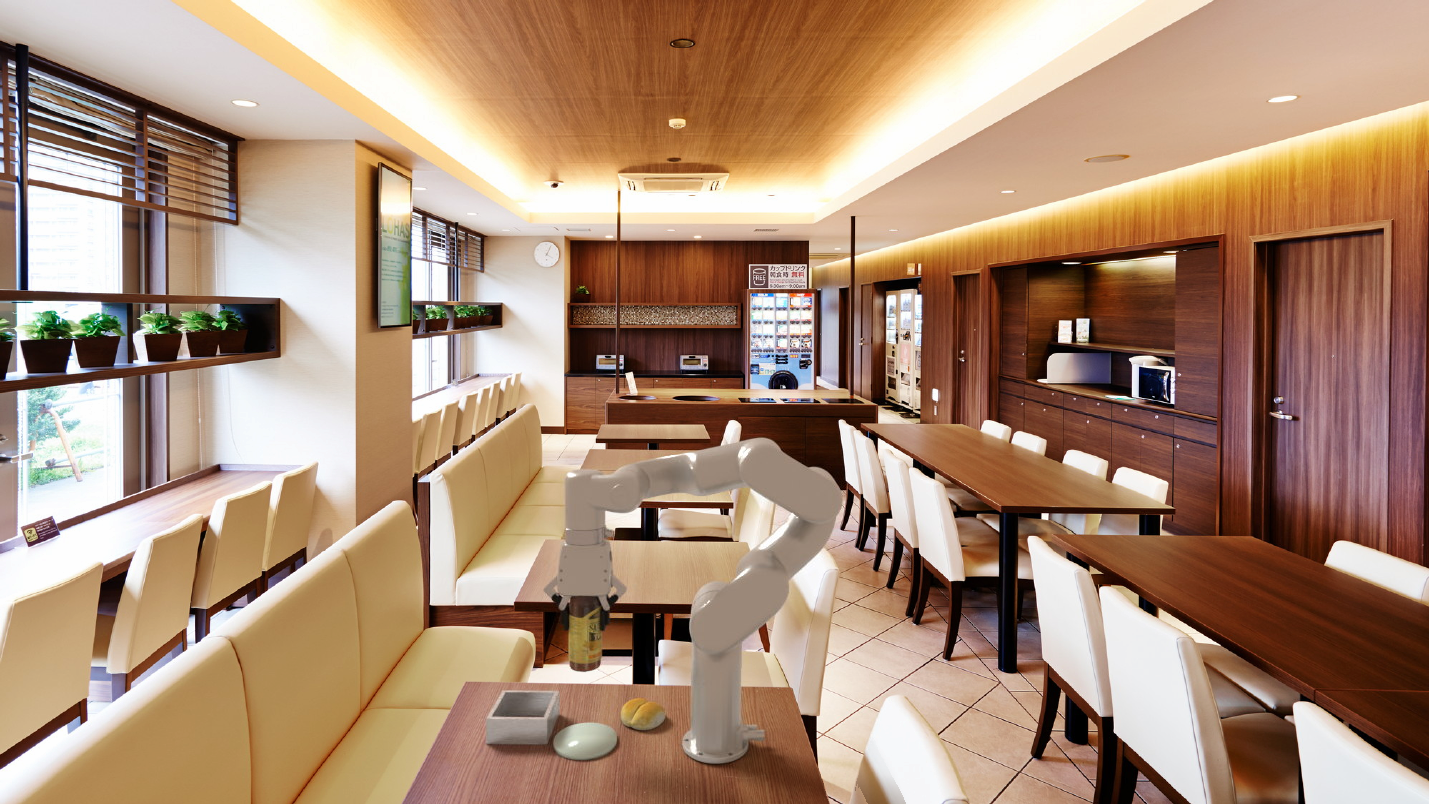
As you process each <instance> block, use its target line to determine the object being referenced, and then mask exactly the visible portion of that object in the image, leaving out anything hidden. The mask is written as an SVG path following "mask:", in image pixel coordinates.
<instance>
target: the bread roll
mask: <svg viewBox="0 0 1429 804" xmlns="http://www.w3.org/2000/svg"><path fill="white" fill-rule="evenodd" d="M665 719H666V711H665V709H664V707H663V706H662V705H661V704H659V703H657V702H656V701H649V700H647V699H646V698H643V697H637V698H636V697H635V698H633V699H630V700H629V701H627V702H626V703H624V705H623V706H622V708H621V711H620V720H621V723H622V724H623V725H624V726H626V727H629V728H633V729H634V730H637V731H649V730H653V729H655V728H657V727H659V726H661V724H663V723H664V721H665Z"/></svg>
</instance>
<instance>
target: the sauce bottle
mask: <svg viewBox="0 0 1429 804" xmlns="http://www.w3.org/2000/svg"><path fill="white" fill-rule="evenodd" d="M569 605H570V612H569V629H568V660H569V667H570V669H571V670H572V671H575V672H581V673H586V672H590V671H591V672H593V671H594V670H597V669H599V668H600V666H601V664H602V661H601V660H602V657H603V649H602V648H603V631H602V630H601V609H602V604H601V602H600V599H599V597H598V596H581V595H580V596H571V597H570V599H569Z"/></svg>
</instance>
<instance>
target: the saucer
mask: <svg viewBox="0 0 1429 804" xmlns="http://www.w3.org/2000/svg"><path fill="white" fill-rule="evenodd" d="M617 736H618V735H617V732H616V731H615V729H614V728H612V727H611V726H609V725H607V724H603V723H599V722H581V723H575V724H571V725H569V726H566V727H564V728H563V729H561V730H560V731H558V732H557V733H556V734H555V736H554V738H553V749H554V751H555V752H556V753H557V755H559V756H560V757H563V758H565V759H568V760H572V761H574V760H575V761H587V760H588V761H589V760H593V759H597V758H600V757H603V756H605V755H607V754H609V753H610V752H611V751H613V749H615V747H616V745H617V743H618V737H617Z"/></svg>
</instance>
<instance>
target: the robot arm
mask: <svg viewBox="0 0 1429 804" xmlns="http://www.w3.org/2000/svg"><path fill="white" fill-rule="evenodd" d="M743 488H744V489H745V488H750V490H752V491H754V492H755V493H757V494H759V495H760V496H762V497H763V498H765V499H767V500H768V501H770V502H771V503H773V504H775V505H777V506H779V507H781V508H782V509H783V510H786V511H788V512H789V515H788V517H787V518H786V520H785V521H784V522H782V524H780V525H779V526H778V527H777V528H776V529H775V530H774V531H773V532H772V533H770V535H769V536H767V537H766V538H764V539H763V540H762V541H761V542H760V543H759V544H757V545H756V546H755V547H754V548H752V549H751V550H750V551H748V552H746V554H745V555H743V557H741V558H740V560H739V561H738V563H737V566H736V568H735V569H736V570H735V577H733V579H731V581H729V583H727V582H726V581H720V580H719V581H718V580H713V581H710V582H708V583H705V584H704V585H703V586H701V587H700V588H699V589H698V590H697V592H696V594H695V596H694V598H693V601H692V604H691V608H690V609H691V610H690V619H689V624H688V625H689V628H688V629H689V634H690V638H691V670H690V672H691V675H690V676H691V677H690V678H691V679H690V680H691V681H690V682H691V683H690V729H689V730H688V731H687V732H685V733H684V735H683V737H682V742H681V743H682V745H681V746H682V750H683V751H684V753H685V754H686V755H688V756H689V757H690V758H692V759H694V760H695V761H698V762H701V763H705V764H706V763H707V764H718V765H719V764H726V763H727V764H728V763H731V762H734V761H736V760H738V759H740V758H741V757H743V756H745V754H746V753H747V751H748V750H749V741H755V742H764V741H765V738H766V735H765V729H758V724H745V723H743V719H742V717H743V716H742V713H741V712H742V711H741V710H742V707H741V705H742V704H741V703H742V664H743V662H742V660H743V658H742V657H743V655H742V654H743V642H745V641H746V640H747V639H748V638H749V637H751V636H752V635H753V634H754V633H756V632H757V631H758V630H760V628H762V627H763V626H764V625H765V624H766V623H767V622H769V621H771V619H772V618H774V616H775V615H777V614H778V612H780V611H781V609H782V608H783V607H784V606H785V603H786V602H787V600H788V597H789V593H790V581H791V579H792V578H794V577H795V575H797V574H798V573H799V572H800V571H801V570H803V568H805V567H806V566H807V565H808V564H809V563H810V562H811V561H812V560H813V559H815V557H816V556H817V555H819V553H820V552H821V551H822V550H823V549H824V547H825V546H826V544H827V543H828V542H829V540H830V538H831V535H832V534H833V531H834V528H835V525H836V520H837V516H838V515H839V514H840V511H841V510H842V507H843V493H842V491H841V489H840V487H839V485H838V484H837V482H836V480H835V479H834V478H833V476H832V475H831V474H830V473H829V472H828V471H827V470H825V469H823V468H821V467H818V466H811V467H808V466H806V465H804V464H802V463H801V462H799V461H797V460H796V459H794V458H792V457H791V456H789V455H788V454H786V453H785V452H783V451H782V450H781V448H780V446H779V445H778V444H777V443H776V442H775V441H774V440H772V439H770V438H766V437H756V438H755V437H754V438H750V439H746V440H741V441H736V442H731V443H728V444H723V445H719V446H718V445H717V446H713V447H708V448H704V449H699V450H696V451H695V450H694V451H688V452H683V453H680V454H674V455H666V456H661V457H660V456H659V457H657V458H656V457H655V458H651V459H646V460H641V461H637V462H633V463H630V464H625V465H623V466H621V467H619V468H618V469H617V470H615V471H614V472H613V473H611V474H604V472H602V470H599V469H594V468H581V469H579V468H578V469H574V470H573V469H572V470H571V471H568V473H566V475H565V477H564V540H562V542H561V545H560V550H559V556H558V567H557V575H555V576H554V577H553V579H552V580H551V581H549V583H547V584H546V585H545V587H544V588H543V593H545V594H546V595H547V596H548V597H549V598H550V599H551V601H552V602H553V603H555V605H556V606H557V607H558V609H559V610H560V625H563V631H565V632H566V631H567V632H568V631H569V612H570V597H571V596H580V595H581V596H598V597H599V599H600V602H601V604H602V609H601V630H602V632H605V631H606V628H607V626H610V620H611V618H610V617H611V616H610V615H611V614H610V613H611V612H610V608H611V607H612V606H613V605H614V604H616V602H618V600H619V599H620V598H622V597H623V595H625V594H626V592H627V590H628V587H627V586H626V585H625V584H624V583H623V582H622V581H621V580H620V579H619V578H618V577H617V576H616V575H614V563H613V552H612V546H611V542H610V541H611V540H609V539H607V538H613V537H614V529H609V528H608V527H607V525H606V512H609V513H616V514H629V513H632V512H634V511H635V510H637V509H638V507H640V505H642V502H643V501H644V500H646V499H651V498H656V497H659V496H665V495H670V494H688V495H692V496H697V497H707V496H712V495H715V494H716V495H717V494H720V493H721V494H722V493H723V492H728V491H733V490H734V491H735V490H737V489H743ZM555 587H557V591H556V590H555ZM613 587H614V588H615V589H616V591H615V592H614V593H613V594H611V595H609V594H610V593H611V590H612V588H613Z"/></svg>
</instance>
